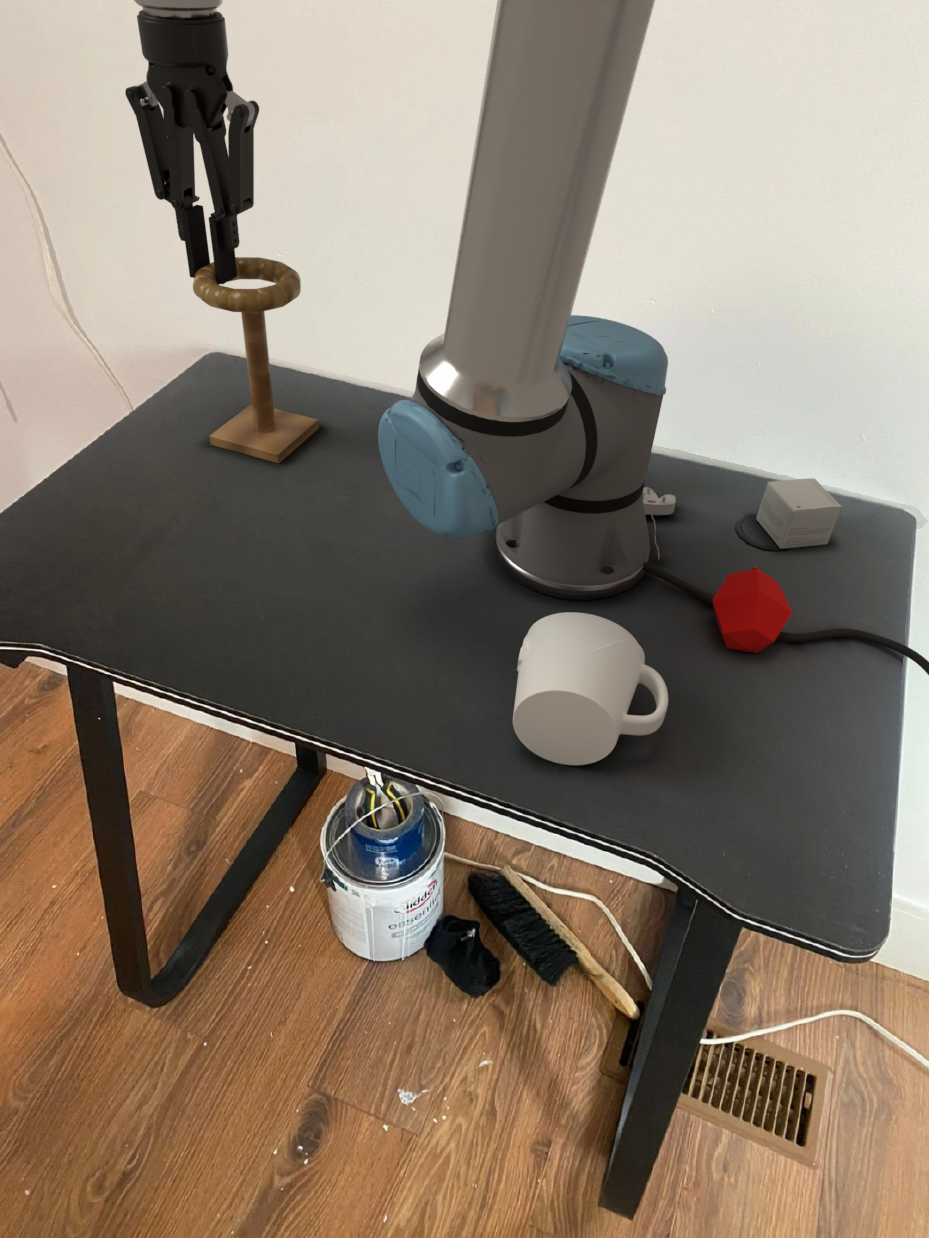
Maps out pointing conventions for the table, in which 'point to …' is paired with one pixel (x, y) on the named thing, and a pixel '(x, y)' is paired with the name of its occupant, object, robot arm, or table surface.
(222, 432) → the peg stand
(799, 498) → the small box
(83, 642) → the table surface
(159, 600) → the table surface
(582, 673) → the mug
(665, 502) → the game controller
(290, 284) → the ring
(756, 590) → the apple
